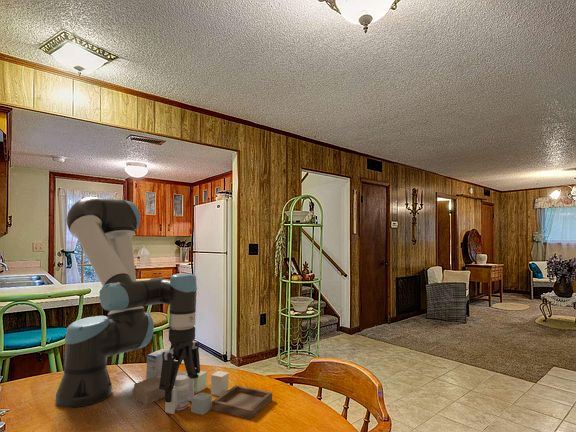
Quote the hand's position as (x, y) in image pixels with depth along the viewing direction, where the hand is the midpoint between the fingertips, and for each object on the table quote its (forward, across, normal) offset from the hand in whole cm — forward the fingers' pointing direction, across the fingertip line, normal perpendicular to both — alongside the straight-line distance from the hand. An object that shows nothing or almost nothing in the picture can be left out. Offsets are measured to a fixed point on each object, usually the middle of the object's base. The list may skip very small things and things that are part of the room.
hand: (180, 406), depth 105 cm
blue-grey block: (0, +1, -7) cm, 7 cm away
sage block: (0, +12, +4) cm, 13 cm away
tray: (0, +9, -16) cm, 18 cm away
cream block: (0, +13, -5) cm, 14 cm away
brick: (+1, +6, +12) cm, 14 cm away
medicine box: (0, +15, +22) cm, 27 cm away
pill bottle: (0, 0, 0) cm, 0 cm away
